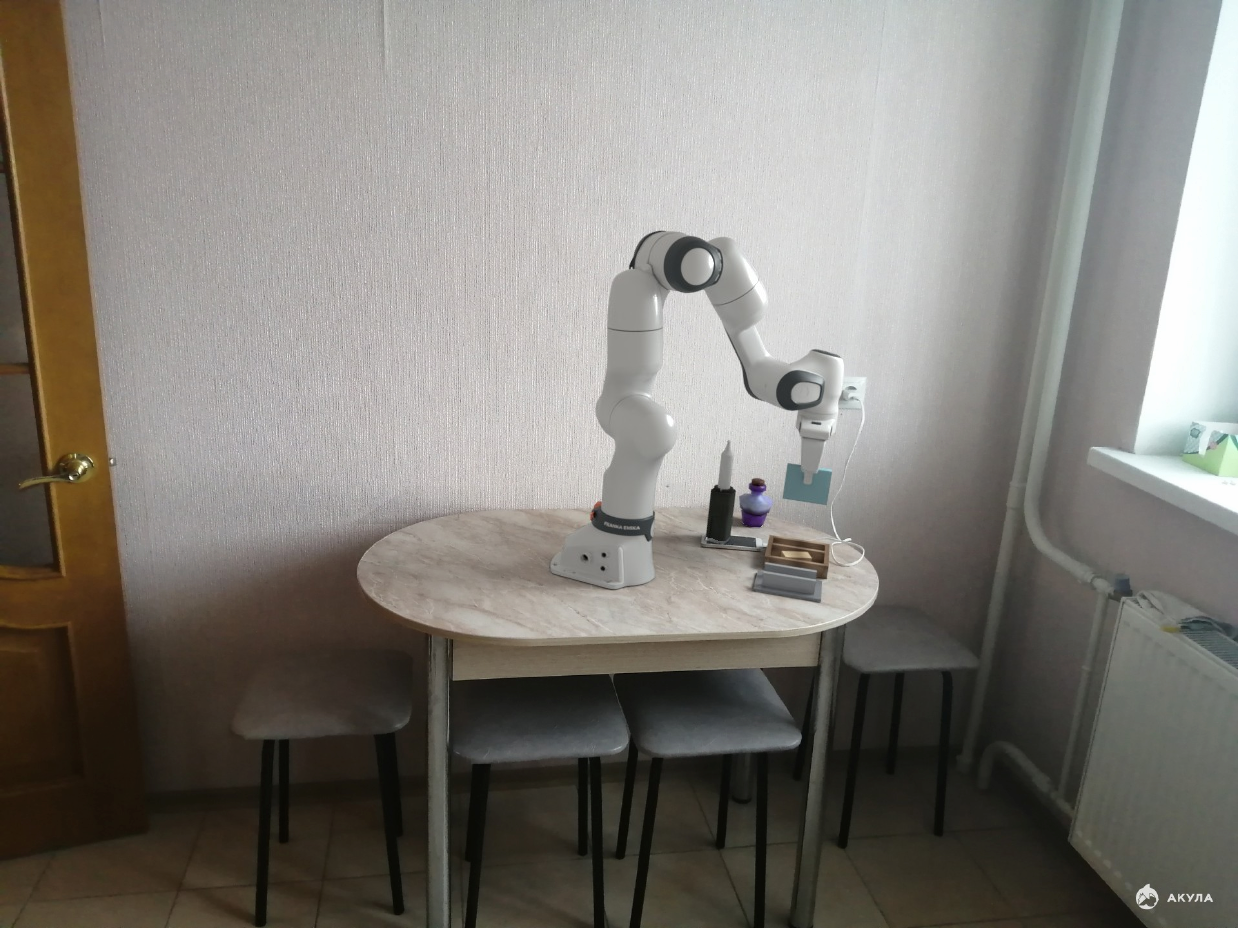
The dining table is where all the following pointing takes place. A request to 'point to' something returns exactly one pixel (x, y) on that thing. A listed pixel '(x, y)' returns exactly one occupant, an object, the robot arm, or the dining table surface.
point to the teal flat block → (807, 485)
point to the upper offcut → (796, 555)
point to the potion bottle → (755, 504)
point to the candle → (722, 500)
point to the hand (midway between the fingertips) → (807, 481)
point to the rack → (815, 550)
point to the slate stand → (789, 582)
